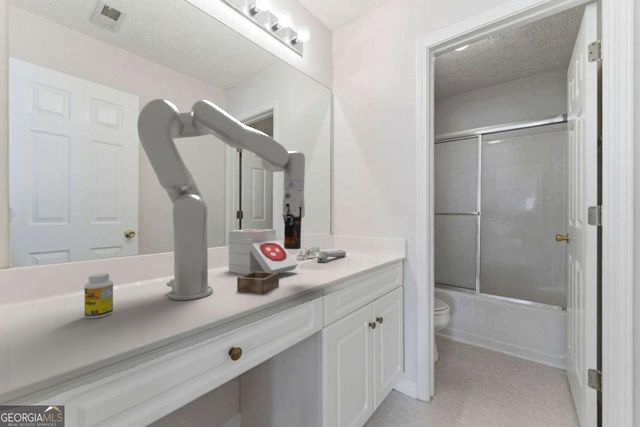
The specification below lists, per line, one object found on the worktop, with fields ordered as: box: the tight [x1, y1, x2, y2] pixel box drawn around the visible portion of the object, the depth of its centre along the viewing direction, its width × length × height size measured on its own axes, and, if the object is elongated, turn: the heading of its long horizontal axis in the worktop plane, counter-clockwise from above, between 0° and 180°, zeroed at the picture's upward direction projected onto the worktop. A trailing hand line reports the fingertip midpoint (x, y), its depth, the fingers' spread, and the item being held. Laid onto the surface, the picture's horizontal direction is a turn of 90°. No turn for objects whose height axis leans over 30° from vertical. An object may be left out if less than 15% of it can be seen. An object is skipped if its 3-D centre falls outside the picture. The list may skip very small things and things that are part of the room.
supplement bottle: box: [84, 272, 114, 320], centre depth 68 cm, size 6×6×10 cm
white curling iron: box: [316, 249, 347, 263], centre depth 149 cm, size 5×7×25 cm
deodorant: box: [283, 207, 302, 250], centre depth 98 cm, size 6×6×15 cm
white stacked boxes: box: [228, 228, 299, 275], centre depth 118 cm, size 19×30×18 cm, turn 52°
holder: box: [236, 271, 280, 295], centre depth 91 cm, size 10×10×4 cm
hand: (292, 235), depth 98 cm, fingers closed on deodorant, 5 cm apart
